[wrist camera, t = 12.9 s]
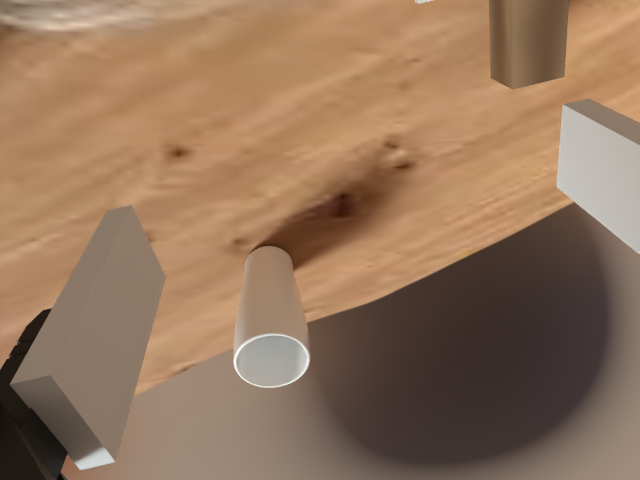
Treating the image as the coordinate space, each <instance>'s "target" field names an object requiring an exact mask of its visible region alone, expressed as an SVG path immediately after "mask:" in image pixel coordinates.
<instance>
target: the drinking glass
mask: <svg viewBox="0 0 640 480" xmlns="http://www.w3.org/2000/svg"><path fill="white" fill-rule="evenodd" d="M233 351H234V367H235V369H236V372H237V373H238V375H239V376H240V377H241V378H242V379H244V380H245V381H246V382H248V383H250V384H252V385H255V386H259V387H267V388H268V387H269V388H270V387H271V388H272V387H279V386H284V385H287V384H290V383H292V382H294V381H296V380H297V379H298V378H300V377H301V376H302V375H303V374H304V373H305V371H306V370H307V368H308V366H309V363H310V347H309V335H308V329H307V323H306V318H305V314H304V310H303V307H302V303H301V299H300V295H299V291H298V287H297V283H296V279H295V275H294V270H293V263H292V260H291V258H290V256H289V255H288V253H287V252H285V251H284V250H283V249H281V248H278V247H275V246H264V247H260V248H258V249H256V250H254V251H253V252H252V253H251V254H250V255H249V256H248V257H247V259H246V262H245V269H244V279H243V284H242V290H241V296H240V301H239V306H238V311H237V317H236V323H235V330H234V347H233Z"/></svg>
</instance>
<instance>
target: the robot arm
mask: <svg viewBox="0 0 640 480" xmlns="http://www.w3.org/2000/svg"><path fill="white" fill-rule="evenodd" d="M556 187H557V188H559V189H560V190H561V191H562V192H564V193H565V194H566V195H567V196H568V197H570V198H571V199H572V200H573V201H575V202H576V203H577V204H578V205H579V206H581V207H582V208H583V209H584V210H586V211H587V212H588V213H589V214H590V215H592V216H593V217H595V219H597V220H598V221H599V222H600V223H601V224H603V225H604V226H605V227H606V228H608V229H609V230H610V231H611V232H612V233H614V234H615V235H616V236H617V237H619V238H620V239H621V240H622V241H624V242H625V243H626V244H627V245H628V246H630V247H631V248H632V249H633V250H635V251H636V252H637V253H638V254H639V255H640V123H639V122H637V121H635V120H633V119H631V118H629V117H627V116H624V115H622V114H620V113H618V112H616V111H614V110H612V109H610V108H607V107H605V106H603V105H601V104H599V103H597V102H595V101H593V100H590V99H584V100H580V101H575V102H571V103H567V104H563V109H562V122H561V135H560V147H559V160H558V173H557V186H556ZM165 278H166V277H165V274H164V272H163V270H162V268H161V266H160V264H159V262H158V260H157V258H156V255H155V253H154V251H153V249H152V247H151V245H150V243H149V241H148V239H147V237H146V234H145V232H144V230H143V228H142V226H141V224H140V222H139V220H138V218H137V216H136V213H135V211H134V209H133V207H132V205H130V206H126V207H122V208H118V209H113V210H109V211H106V213H105V215H104V217H103V219H102V220H101V222H100V224H99V226H98V228H97V229H96V231H95V233H94V235H93V236H92V238H91V240H90V242H89V244H88V245H87V247H86V249H85V251H84V253H83V254H82V256H81V258H80V260H79V261H78V263H77V265H76V267H75V269H74V270H73V272H72V274H71V276H70V278H69V279H68V281H67V283H66V285H65V286H64V288H63V290H62V292H61V294H60V295H59V297H58V299H57V301H56V303H55V304H54V306H53V308H51V309H46V310H43V311H42V312H41V313H40V314H39V315H38V316H37V317H36V318H35V319H34V320H33V321H32V322H31V323H29V324H28V325H27V326H26V328H25V330H24V331H23V333H22V335H21V336H20V338H19V340H18V341H17V345H16V346H14V348H13V350H12V351H11V353H10V355H9V359H7V360H6V361H5V363H4V365H3V366H2V368H1V370H0V480H67V479H66V478H65V476H64V475H63V474H62V473H61V469H62V466H63V464H64V461H65V458H66V456H67V454H68V456H69V457H70V458H71V459H72V460H73V462H74V463H75V464H76V465H77V466H78V468H79V469H80V470H82V469H87V468H91V467H96V466H100V465H104V464H109V463H113V462H115V461H116V458H117V454H118V450H119V447H120V443H121V439H122V436H123V432H124V429H125V425H126V421H127V417H128V414H129V410H130V406H131V403H132V399H133V396H134V392H135V388H136V385H137V381H138V377H139V374H140V370H141V366H142V363H143V359H144V355H145V352H146V348H147V344H148V341H149V337H150V333H151V330H152V326H153V322H154V319H155V315H156V311H157V308H158V304H159V300H160V297H161V293H162V289H163V286H164V282H165Z"/></svg>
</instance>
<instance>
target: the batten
mask: <svg viewBox="0 0 640 480" xmlns="http://www.w3.org/2000/svg"><path fill="white" fill-rule="evenodd" d="M568 6H569V0H489V17H490V65H491V78H492V79H494V80H496V81H498V82H499V83H501V84H503V85H505V86H507V87H509V88H511V89H516V88H520V87H525V86H529V85H533V84H537V83H541V82H545V81H549V80H553V79H558V78H562V77H564V74H565V57H566V40H567V23H568Z"/></svg>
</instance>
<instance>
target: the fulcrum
mask: <svg viewBox="0 0 640 480" xmlns="http://www.w3.org/2000/svg"><path fill="white" fill-rule="evenodd" d="M428 1H432V0H415V3H418V4H420V3H424V2H428Z"/></svg>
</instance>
